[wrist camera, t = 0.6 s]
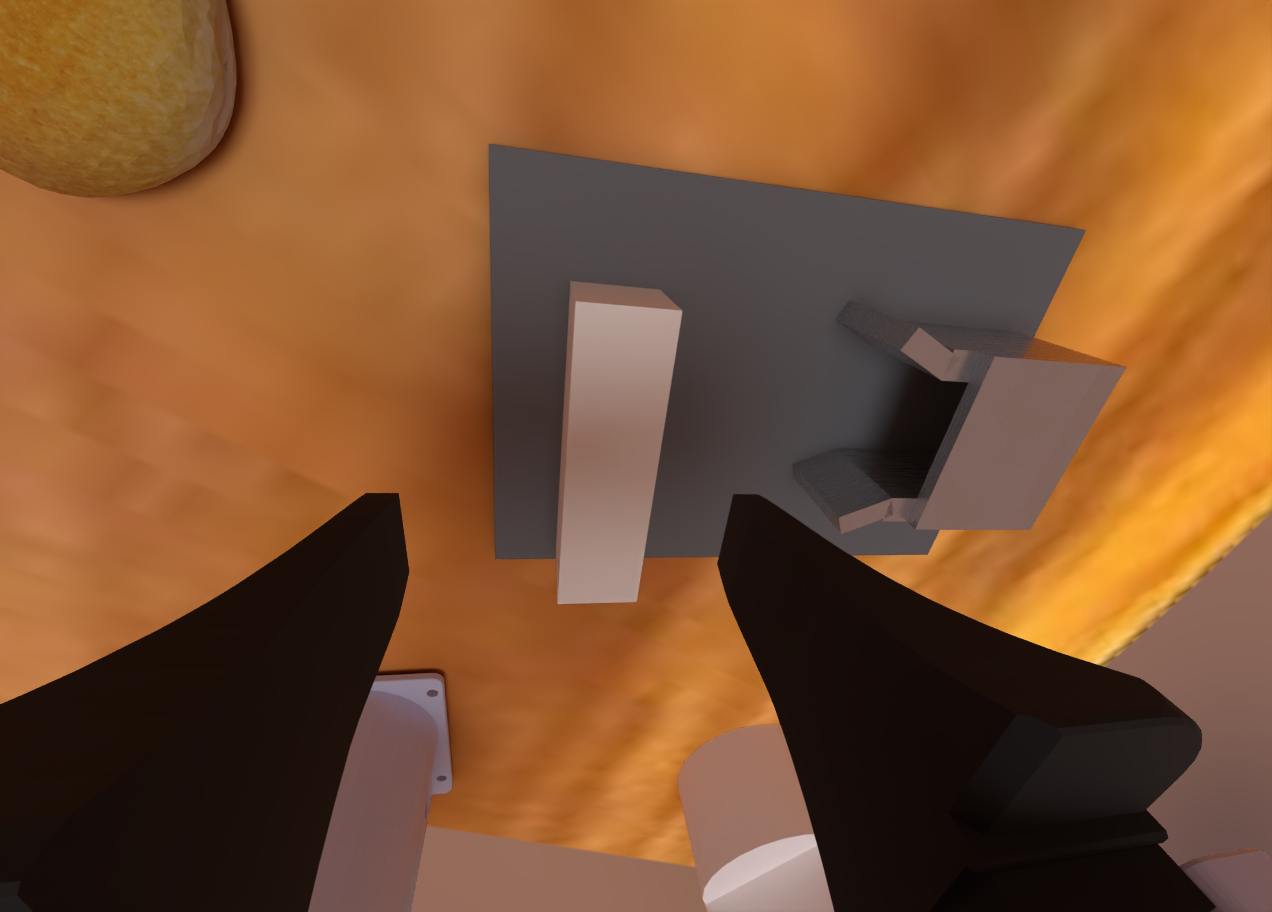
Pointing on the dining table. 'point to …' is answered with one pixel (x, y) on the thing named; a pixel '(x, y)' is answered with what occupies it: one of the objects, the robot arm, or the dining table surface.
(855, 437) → the mat
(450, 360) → the dining table surface
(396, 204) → the dining table surface
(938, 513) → the end cap
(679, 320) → the pale grey rectangular bar
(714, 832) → the base with upright slab
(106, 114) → the bread roll
